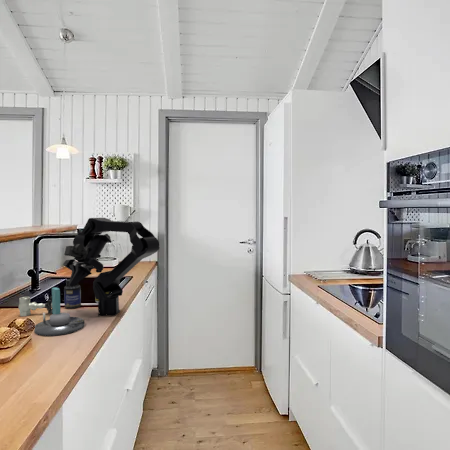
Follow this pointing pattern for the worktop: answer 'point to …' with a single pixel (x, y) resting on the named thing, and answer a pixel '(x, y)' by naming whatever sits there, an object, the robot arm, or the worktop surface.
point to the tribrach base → (59, 327)
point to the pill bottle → (72, 295)
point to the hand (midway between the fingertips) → (70, 286)
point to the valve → (32, 306)
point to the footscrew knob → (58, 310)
